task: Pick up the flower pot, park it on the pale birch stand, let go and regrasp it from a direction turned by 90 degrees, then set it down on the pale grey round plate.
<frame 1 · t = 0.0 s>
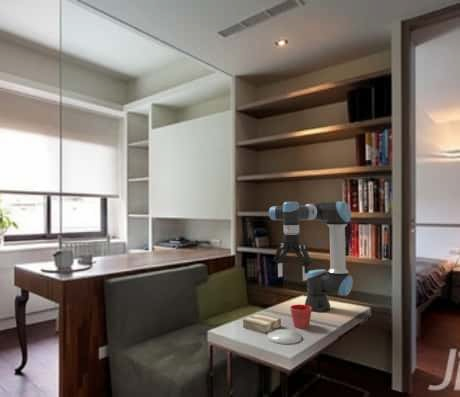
hand: (292, 278, 163), 28 cm above the table, fingers open, 13 cm apart
flower pot: (301, 326, 178), on the table
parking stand: (262, 326, 178), on the table
pale grey round plate: (284, 337, 163), on the table
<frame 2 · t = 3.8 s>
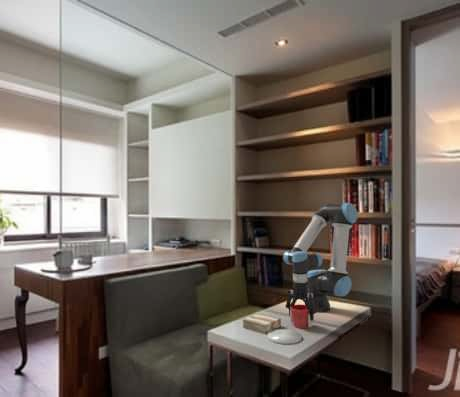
hand: (301, 324, 178), 1 cm above the table, fingers closed on flower pot, 10 cm apart
flower pot: (301, 326, 178), on the table, touching gripper
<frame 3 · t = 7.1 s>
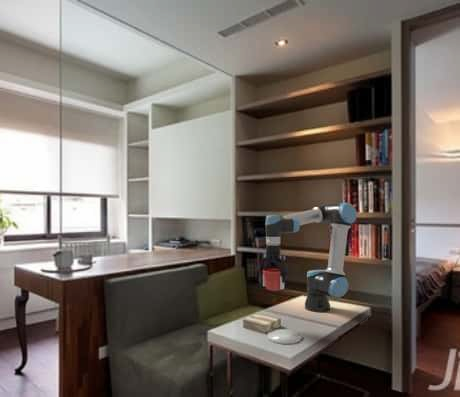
hand: (273, 287, 178), 20 cm above the table, fingers closed on flower pot, 10 cm apart
flower pot: (273, 289, 178), point 19 cm above the table, touching gripper
when the fingers open (6 cm above the table, at t = 10.8 s): flower pot moves 1 cm, point 4 cm above the table.
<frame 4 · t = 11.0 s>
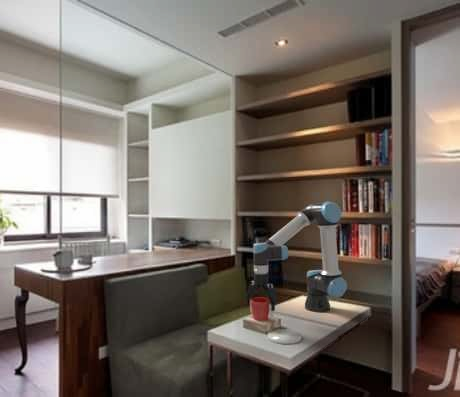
hand: (261, 314, 178), 6 cm above the table, fingers open, 12 cm apart
flower pot: (260, 318, 179), point 4 cm above the table, touching gripper
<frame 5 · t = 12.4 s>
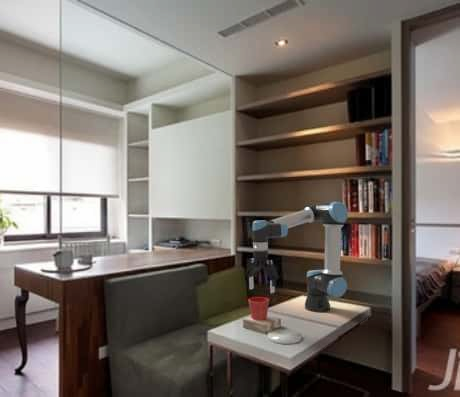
hand: (261, 290, 178), 19 cm above the table, fingers open, 13 cm apart
flower pot: (259, 318, 180), point 4 cm above the table, touching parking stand
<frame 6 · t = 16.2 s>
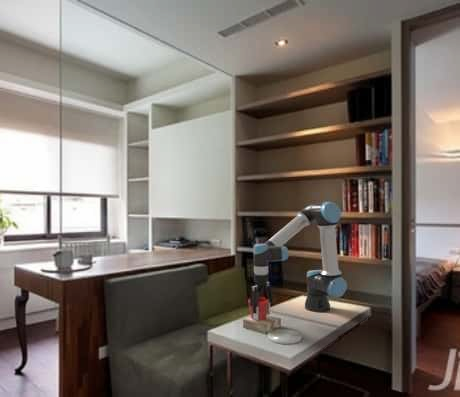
hand: (261, 316, 178), 5 cm above the table, fingers closed on flower pot, 10 cm apart
flower pot: (258, 318, 179), point 4 cm above the table, touching gripper, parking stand
when the fingers open (4 cm above the table, at t = 23.5 s): flower pot moves 4 cm, resting on pale grey round plate.
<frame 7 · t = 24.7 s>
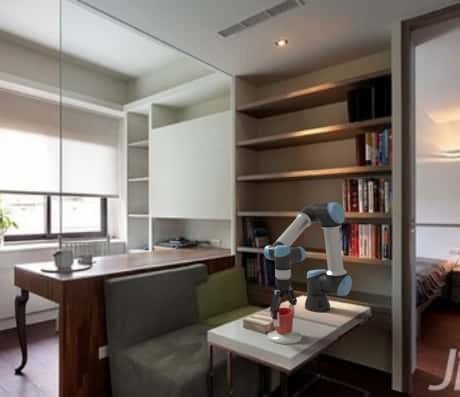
hand: (284, 322, 165), 7 cm above the table, fingers open, 13 cm apart
flower pot: (284, 331, 167), point 1 cm above the table, touching pale grey round plate, gripper
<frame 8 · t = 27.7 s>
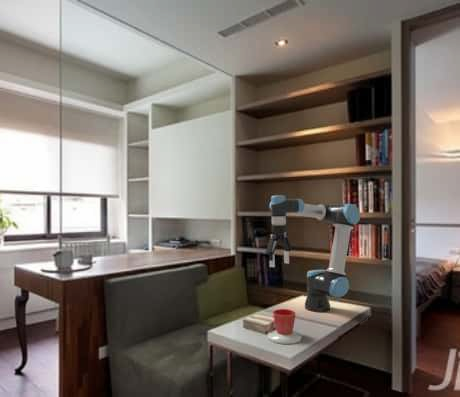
hand: (279, 265, 179), 32 cm above the table, fingers open, 13 cm apart
flower pot: (284, 332, 167), point 1 cm above the table, touching pale grey round plate
at the end: flower pot inside the target area on the pale grey round plate (4.5 cm from its centre), point 0.8 cm above the pale grey round plate's base; flower pot tilted 0°; the gripper is holding nothing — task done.
